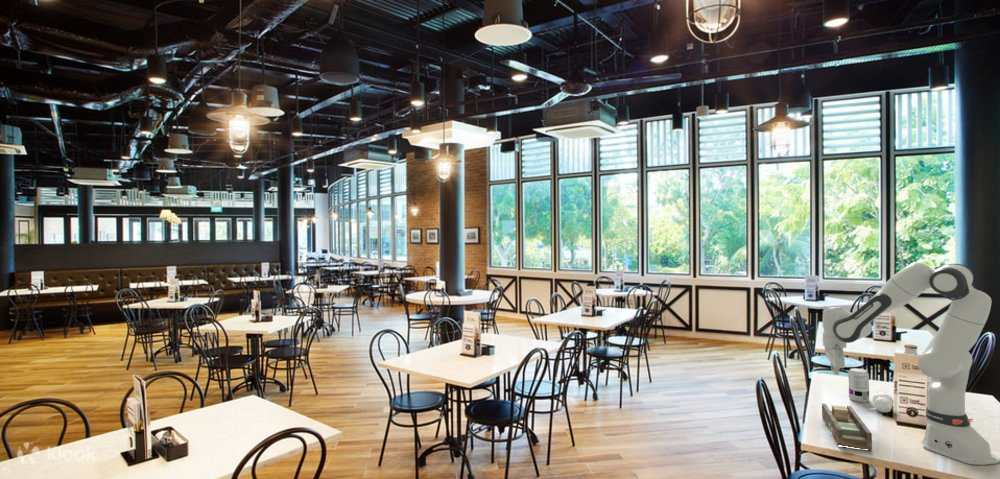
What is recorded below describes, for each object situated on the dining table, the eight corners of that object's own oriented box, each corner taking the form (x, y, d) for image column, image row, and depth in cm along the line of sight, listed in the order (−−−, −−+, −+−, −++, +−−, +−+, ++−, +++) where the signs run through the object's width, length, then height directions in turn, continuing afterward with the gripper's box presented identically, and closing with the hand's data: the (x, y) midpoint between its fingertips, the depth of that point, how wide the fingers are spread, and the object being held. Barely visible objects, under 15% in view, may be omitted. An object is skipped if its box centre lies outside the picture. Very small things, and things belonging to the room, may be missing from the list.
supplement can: (845, 399, 251) (844, 369, 251) (855, 396, 254) (854, 367, 254) (862, 403, 244) (862, 373, 243) (872, 401, 247) (872, 370, 247)
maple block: (831, 414, 221) (831, 405, 221) (845, 415, 219) (845, 406, 219) (834, 418, 217) (834, 408, 217) (848, 419, 215) (847, 410, 215)
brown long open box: (822, 418, 227) (821, 403, 227) (851, 421, 222) (850, 405, 222) (838, 447, 197) (838, 429, 197) (872, 451, 193) (871, 433, 193)
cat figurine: (885, 394, 228) (885, 387, 238) (861, 403, 234) (862, 395, 244) (898, 412, 226) (898, 404, 235) (874, 421, 232) (875, 412, 241)
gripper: (848, 348, 214) (849, 380, 214) (837, 338, 233) (838, 367, 233) (831, 347, 217) (831, 378, 217) (821, 337, 235) (822, 366, 236)
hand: (835, 372), depth 225 cm, fingers open, 3 cm apart
